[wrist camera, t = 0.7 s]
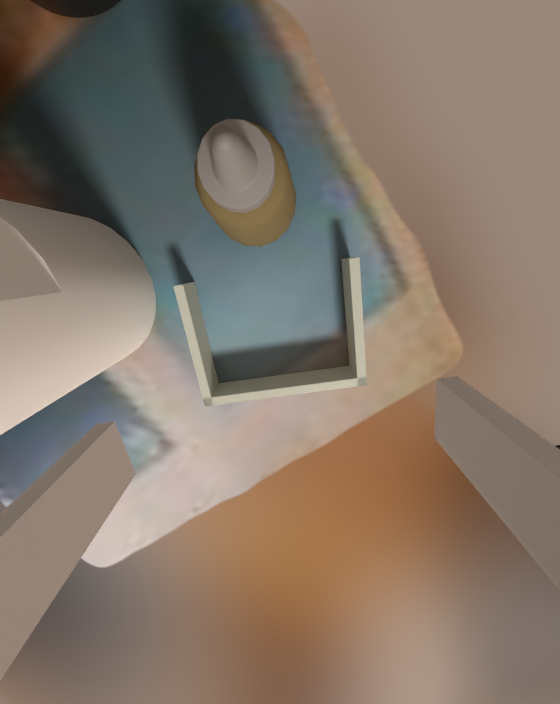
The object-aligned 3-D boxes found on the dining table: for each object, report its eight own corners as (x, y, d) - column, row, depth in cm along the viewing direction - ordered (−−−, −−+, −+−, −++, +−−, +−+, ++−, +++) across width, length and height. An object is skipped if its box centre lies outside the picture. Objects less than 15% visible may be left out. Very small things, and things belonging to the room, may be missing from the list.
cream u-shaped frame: (186, 282, 33) (173, 286, 29) (350, 257, 32) (359, 257, 28) (212, 391, 37) (204, 406, 33) (357, 371, 36) (366, 385, 32)
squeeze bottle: (247, 145, 28) (193, -28, 11) (310, 199, 30) (346, 118, 13) (204, 216, 30) (104, 161, 13) (265, 263, 32) (245, 267, 15)
